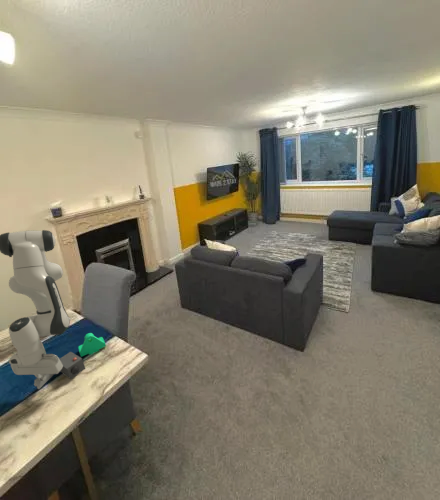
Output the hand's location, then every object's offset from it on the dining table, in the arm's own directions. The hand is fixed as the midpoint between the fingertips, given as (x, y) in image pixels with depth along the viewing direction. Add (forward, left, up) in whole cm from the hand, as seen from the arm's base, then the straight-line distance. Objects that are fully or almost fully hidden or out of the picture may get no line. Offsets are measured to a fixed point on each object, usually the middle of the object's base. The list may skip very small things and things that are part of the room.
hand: (43, 379), depth 114 cm
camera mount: (-4, +25, -4) cm, 25 cm away
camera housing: (+1, +11, -4) cm, 12 cm away
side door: (-3, +2, -3) cm, 5 cm away
